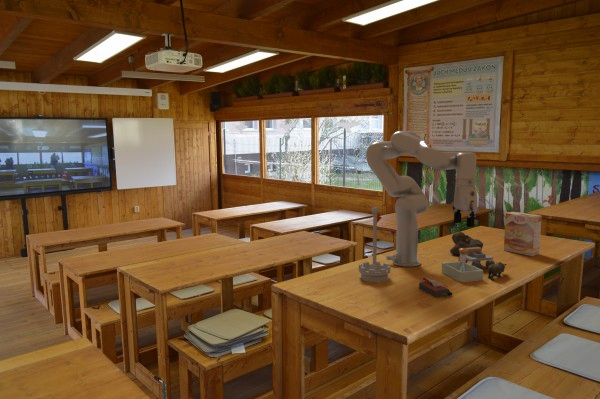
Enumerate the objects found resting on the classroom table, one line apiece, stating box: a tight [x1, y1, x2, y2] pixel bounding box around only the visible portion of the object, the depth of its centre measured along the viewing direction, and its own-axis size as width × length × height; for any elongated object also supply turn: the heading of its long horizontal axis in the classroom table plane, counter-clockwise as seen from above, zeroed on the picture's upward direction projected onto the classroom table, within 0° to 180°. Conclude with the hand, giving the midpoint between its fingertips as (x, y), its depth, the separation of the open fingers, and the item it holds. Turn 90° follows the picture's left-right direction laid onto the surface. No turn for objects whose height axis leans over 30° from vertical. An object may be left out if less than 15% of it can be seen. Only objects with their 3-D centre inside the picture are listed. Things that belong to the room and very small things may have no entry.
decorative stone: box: [449, 231, 484, 256], centre depth 232 cm, size 16×11×15 cm
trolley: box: [457, 247, 496, 270], centre depth 209 cm, size 11×14×8 cm
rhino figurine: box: [487, 261, 508, 281], centre depth 195 cm, size 4×14×6 cm, turn 132°
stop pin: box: [458, 248, 468, 272], centre depth 195 cm, size 4×4×11 cm
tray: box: [441, 261, 484, 283], centre depth 196 cm, size 10×14×4 cm
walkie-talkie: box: [418, 277, 453, 299], centre depth 180 cm, size 9×4×20 cm
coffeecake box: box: [503, 211, 543, 257], centre depth 232 cm, size 15×7×20 cm, turn 37°
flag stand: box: [358, 206, 391, 283], centre depth 193 cm, size 13×13×30 cm
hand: (463, 224), depth 193 cm, fingers open, 8 cm apart
